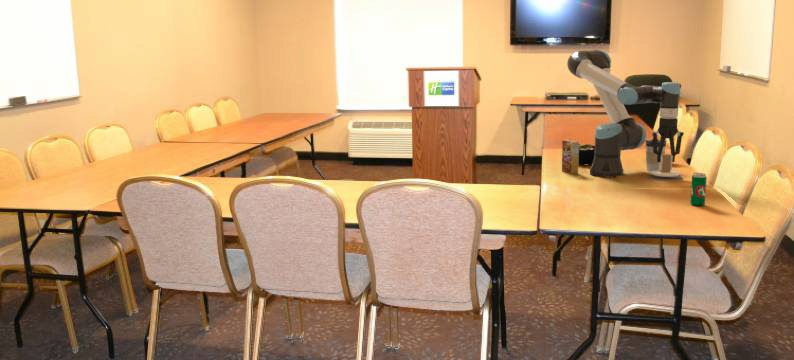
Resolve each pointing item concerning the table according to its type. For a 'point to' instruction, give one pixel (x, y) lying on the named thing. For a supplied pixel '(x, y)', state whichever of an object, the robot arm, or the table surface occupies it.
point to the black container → (586, 154)
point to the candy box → (570, 156)
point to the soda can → (698, 189)
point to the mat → (665, 178)
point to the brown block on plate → (665, 168)
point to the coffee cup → (652, 155)
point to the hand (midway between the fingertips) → (665, 169)
